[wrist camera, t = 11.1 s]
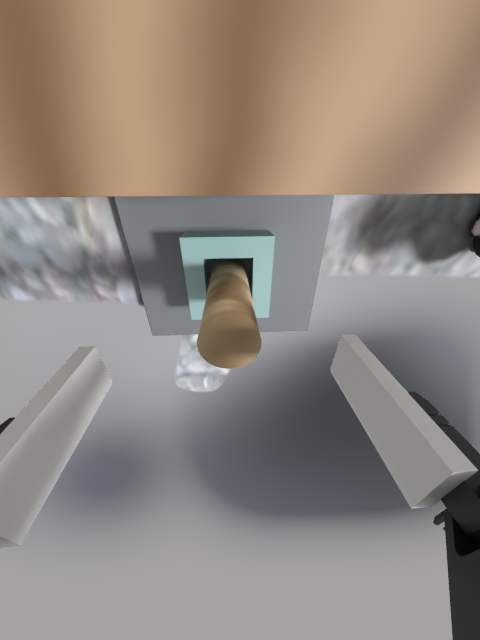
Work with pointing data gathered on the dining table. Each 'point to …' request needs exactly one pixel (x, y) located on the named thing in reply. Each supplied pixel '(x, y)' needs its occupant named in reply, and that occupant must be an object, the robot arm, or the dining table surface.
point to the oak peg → (228, 317)
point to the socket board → (225, 214)
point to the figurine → (476, 235)
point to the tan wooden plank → (239, 97)
